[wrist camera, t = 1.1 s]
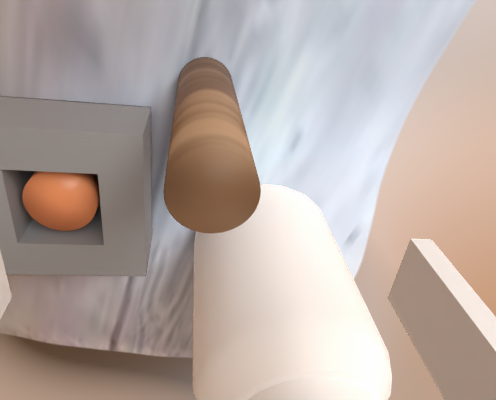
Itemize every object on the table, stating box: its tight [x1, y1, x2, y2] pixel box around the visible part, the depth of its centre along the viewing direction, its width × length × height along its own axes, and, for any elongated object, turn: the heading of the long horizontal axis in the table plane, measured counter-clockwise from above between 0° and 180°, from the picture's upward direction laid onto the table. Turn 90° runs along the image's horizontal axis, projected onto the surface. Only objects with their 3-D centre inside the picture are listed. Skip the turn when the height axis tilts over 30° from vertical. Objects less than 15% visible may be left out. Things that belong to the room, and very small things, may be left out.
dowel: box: [164, 57, 261, 233], centre depth 24 cm, size 4×4×16 cm
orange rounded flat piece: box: [22, 171, 100, 231], centre depth 30 cm, size 5×5×2 cm
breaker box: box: [0, 96, 152, 276], centre depth 31 cm, size 12×12×6 cm
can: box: [193, 184, 392, 400], centre depth 30 cm, size 12×12×20 cm
